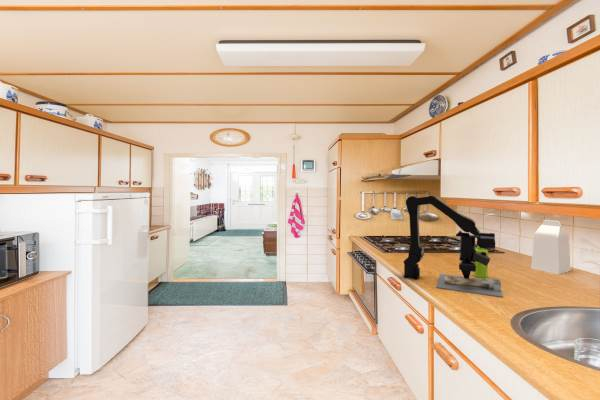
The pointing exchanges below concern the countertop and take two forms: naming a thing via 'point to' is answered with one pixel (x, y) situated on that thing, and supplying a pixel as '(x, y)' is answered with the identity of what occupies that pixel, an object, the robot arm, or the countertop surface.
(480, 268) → the soap dispenser
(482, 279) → the block
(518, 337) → the countertop surface
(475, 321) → the countertop surface
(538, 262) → the milk
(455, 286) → the board
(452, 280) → the link
